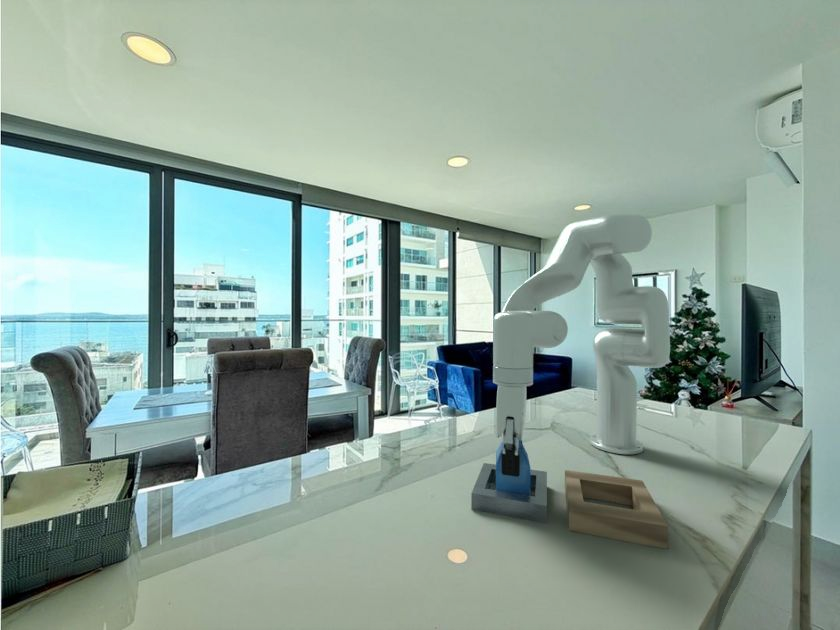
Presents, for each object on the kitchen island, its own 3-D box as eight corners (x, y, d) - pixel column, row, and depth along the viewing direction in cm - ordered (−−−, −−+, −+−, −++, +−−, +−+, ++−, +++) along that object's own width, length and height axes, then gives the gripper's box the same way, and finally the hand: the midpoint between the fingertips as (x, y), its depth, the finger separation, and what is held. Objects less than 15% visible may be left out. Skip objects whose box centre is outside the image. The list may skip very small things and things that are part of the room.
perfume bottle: (530, 500, 68) (530, 435, 68) (495, 496, 69) (496, 433, 69) (527, 484, 74) (527, 425, 74) (495, 481, 75) (496, 423, 75)
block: (483, 476, 80) (483, 462, 80) (546, 486, 76) (546, 471, 76) (471, 509, 67) (471, 493, 67) (546, 523, 63) (546, 505, 63)
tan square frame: (564, 486, 76) (564, 469, 76) (642, 498, 71) (642, 480, 71) (569, 530, 61) (569, 509, 61) (667, 548, 56) (668, 526, 56)
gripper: (498, 367, 81) (498, 448, 81) (486, 382, 64) (486, 484, 65) (534, 369, 78) (533, 452, 79) (531, 385, 62) (530, 491, 62)
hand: (512, 466), depth 72 cm, fingers closed on perfume bottle, 6 cm apart
